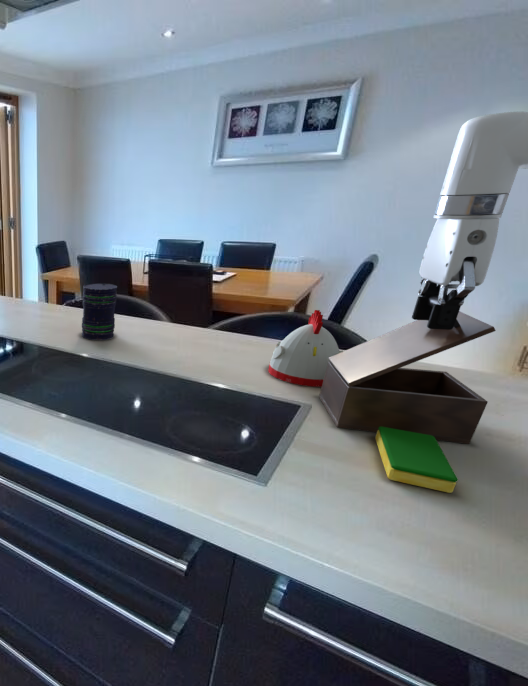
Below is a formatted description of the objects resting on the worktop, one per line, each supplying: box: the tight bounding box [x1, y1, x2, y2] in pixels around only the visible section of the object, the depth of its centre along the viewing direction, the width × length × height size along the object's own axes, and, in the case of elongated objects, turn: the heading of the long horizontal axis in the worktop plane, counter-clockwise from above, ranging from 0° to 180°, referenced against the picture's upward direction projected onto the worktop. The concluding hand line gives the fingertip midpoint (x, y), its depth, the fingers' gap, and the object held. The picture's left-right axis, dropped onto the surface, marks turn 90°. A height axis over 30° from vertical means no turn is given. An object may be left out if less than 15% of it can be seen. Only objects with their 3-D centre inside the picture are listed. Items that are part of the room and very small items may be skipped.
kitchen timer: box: [267, 309, 344, 388], centre depth 99 cm, size 14×14×15 cm
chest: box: [318, 362, 489, 445], centre depth 80 cm, size 19×14×8 cm
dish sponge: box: [374, 427, 459, 494], centre depth 67 cm, size 7×14×2 cm, turn 150°
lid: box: [328, 295, 497, 387], centre depth 76 cm, size 19×14×6 cm
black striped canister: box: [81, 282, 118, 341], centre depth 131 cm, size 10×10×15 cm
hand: (431, 322), depth 74 cm, fingers closed on lid, 5 cm apart
